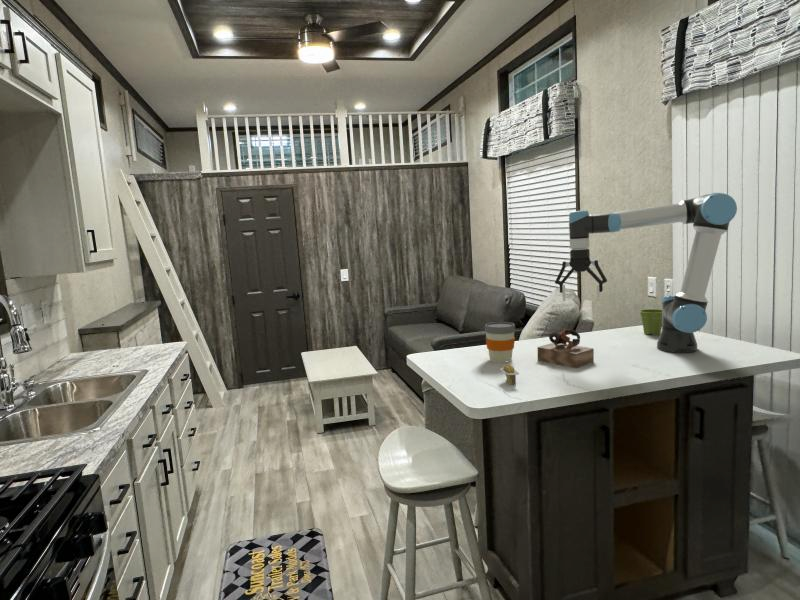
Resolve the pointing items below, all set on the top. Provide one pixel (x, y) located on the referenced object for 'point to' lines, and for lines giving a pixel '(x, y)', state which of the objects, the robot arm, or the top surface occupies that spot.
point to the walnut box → (566, 355)
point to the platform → (510, 373)
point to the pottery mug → (565, 338)
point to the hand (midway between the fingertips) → (581, 300)
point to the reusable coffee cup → (500, 340)
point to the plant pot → (651, 321)
